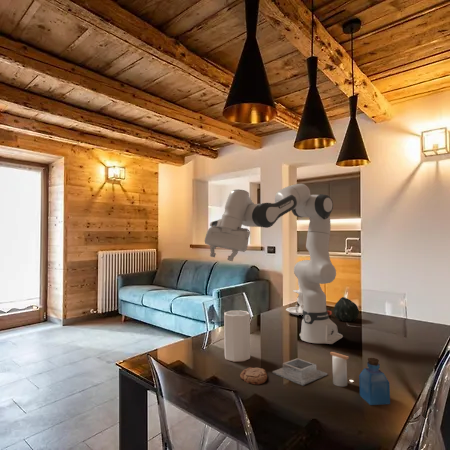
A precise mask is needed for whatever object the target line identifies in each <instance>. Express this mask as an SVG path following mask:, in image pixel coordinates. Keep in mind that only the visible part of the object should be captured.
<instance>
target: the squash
mask: <svg viewBox="0 0 450 450" xmlns="http://www.w3.org/2000/svg"><path fill="white" fill-rule="evenodd" d="M333 314H334V316H335V318H336V319H337V320H338V321H341V320H342V322H346V321H347V322H348V321H349V322H355V321H356V320H357V319H358V316H359V314H360V311H359V307H358V305H357V304H356V303H355V302H354V301H353V300H351V299H349V298H347V297H344V296H341V297H340V298H339V300H337V302H336V303H335V304H334V306H333Z"/></svg>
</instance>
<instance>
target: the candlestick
mask: <svg viewBox="0 0 450 450" xmlns="http://www.w3.org/2000/svg"><path fill="white" fill-rule="evenodd" d="M297 286H298V289H294V290H292V292H294V293H297V294H298V296H297V298H296V302H297V304H295V306H292V307H291V306H290V307H287V308H286V309H285V311H287V312H288V313H290V315H291V314H292V315H295V316H299V315H301V316H302V315H303V314H302V312H303V293H302V289H301V286H300V283H299V280H298V279H297ZM298 304H299V305H298ZM301 316H300V317H301ZM302 317H303V316H302Z"/></svg>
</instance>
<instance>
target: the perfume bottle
mask: <svg viewBox="0 0 450 450" xmlns="http://www.w3.org/2000/svg"><path fill="white" fill-rule="evenodd" d="M379 361H380V360H379V359H378V358H374V357H368V358H367V362H366V363H367V368H366V367H365V368H363V369H362V370H361V372H360V374H359V376H358V378H359V379H358V381H359V382H358V384H359V396H360V397H361V398H362V399H363V400H364V401H365V402H366V403H367V404H368V405H369V406H377V405H378V406H380V405H381V406H382V405H390V404H391V392H390V381H389V380H388V378H387V377H386V375H385V373H384V372H383V371H382V370H380V363H379Z"/></svg>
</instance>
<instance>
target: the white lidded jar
mask: <svg viewBox="0 0 450 450" xmlns="http://www.w3.org/2000/svg"><path fill="white" fill-rule="evenodd" d="M329 356H331V357H332V358H331V359H332V384H333V385H334V386H337V387H339V388H340V387H347V386H348V370H347V365H348V364H347V362H348V361H347V360H349V359H350V357H349V356H348V355H345V354H341V353H337V352H335V351H330V352H329Z"/></svg>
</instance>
